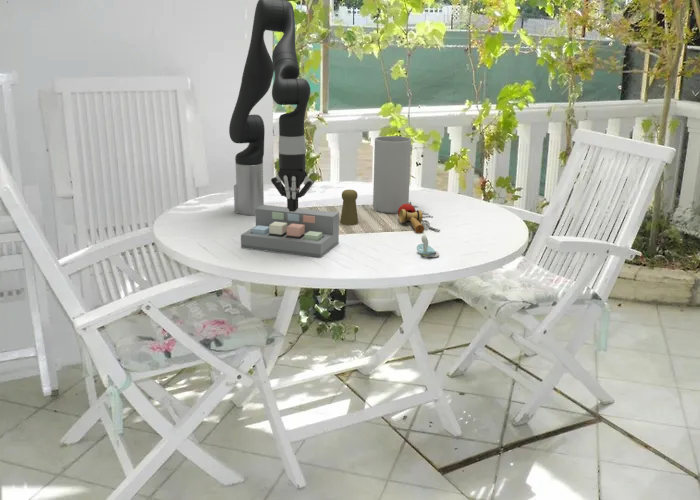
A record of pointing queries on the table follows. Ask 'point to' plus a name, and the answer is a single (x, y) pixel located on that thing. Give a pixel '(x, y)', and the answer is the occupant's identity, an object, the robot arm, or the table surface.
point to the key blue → (260, 230)
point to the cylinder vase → (391, 173)
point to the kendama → (411, 216)
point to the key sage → (313, 236)
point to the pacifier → (426, 248)
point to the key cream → (278, 229)
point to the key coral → (295, 231)
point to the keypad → (312, 222)
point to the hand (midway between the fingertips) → (292, 210)
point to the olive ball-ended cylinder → (349, 208)
